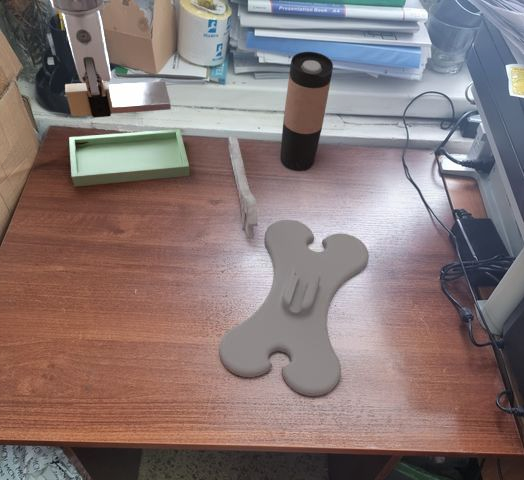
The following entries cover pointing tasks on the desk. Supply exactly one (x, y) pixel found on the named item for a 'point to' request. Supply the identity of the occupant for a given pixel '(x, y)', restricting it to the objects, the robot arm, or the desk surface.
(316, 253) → the holder
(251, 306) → the desk surface
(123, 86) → the cleaver
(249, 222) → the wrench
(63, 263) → the desk surface
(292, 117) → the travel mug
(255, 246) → the desk surface
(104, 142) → the tray
